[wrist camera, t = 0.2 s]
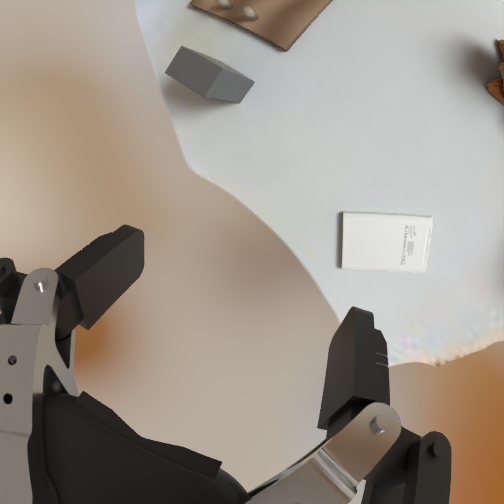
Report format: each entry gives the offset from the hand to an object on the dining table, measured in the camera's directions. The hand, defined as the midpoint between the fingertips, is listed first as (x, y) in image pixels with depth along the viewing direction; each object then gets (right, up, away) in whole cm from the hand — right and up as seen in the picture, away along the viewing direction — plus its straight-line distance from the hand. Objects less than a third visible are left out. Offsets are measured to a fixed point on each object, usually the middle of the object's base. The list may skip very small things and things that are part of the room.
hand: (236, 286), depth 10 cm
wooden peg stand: (+1, +35, +15) cm, 38 cm away
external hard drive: (+19, +3, +25) cm, 32 cm away
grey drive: (-2, +24, +22) cm, 33 cm away
